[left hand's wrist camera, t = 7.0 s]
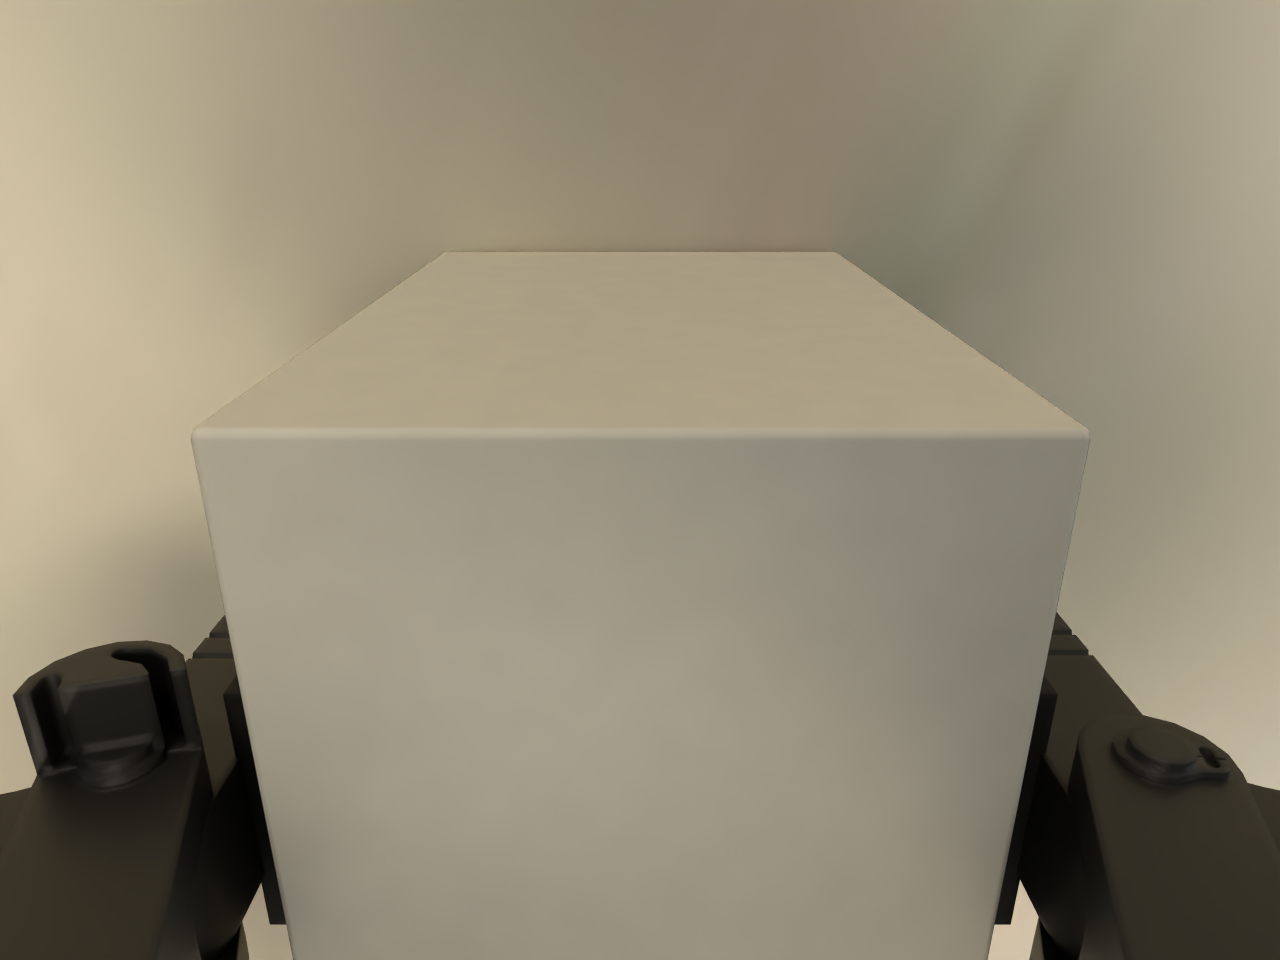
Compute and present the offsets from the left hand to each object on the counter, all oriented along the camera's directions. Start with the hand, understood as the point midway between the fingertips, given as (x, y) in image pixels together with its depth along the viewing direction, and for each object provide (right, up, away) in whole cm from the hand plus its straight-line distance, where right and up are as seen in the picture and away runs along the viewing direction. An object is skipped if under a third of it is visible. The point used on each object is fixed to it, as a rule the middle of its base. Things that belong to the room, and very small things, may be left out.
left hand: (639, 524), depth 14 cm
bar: (0, -29, +12) cm, 31 cm away
